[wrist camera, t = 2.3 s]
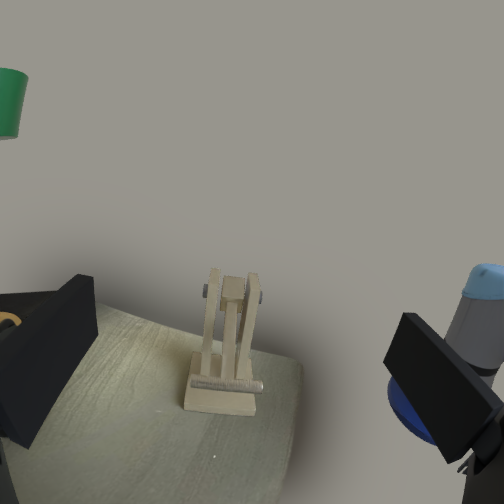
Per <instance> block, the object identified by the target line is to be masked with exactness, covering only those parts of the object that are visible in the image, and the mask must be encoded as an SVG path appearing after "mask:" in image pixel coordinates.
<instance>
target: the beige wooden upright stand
mask: <svg viewBox="0 0 504 504" xmlns="http://www.w3.org/2000/svg"><path fill="white" fill-rule="evenodd" d="M219 278H220V269H216V268H211V273H210V278H209V283H208V284H204V288H203V298H207V301H206V311H205V322H204V333H203V344H202V353H200V352H193V354H192V359H191V364H190V370H189V376H188V381H187V387H186V393H185V399H184V410H190V411H197V412H206V413H215V414H226V415H239V416H254V415H255V411H256V407H255V396H254V394H251V393H237V392H225V391H215V390H206V389H198V388H191V387H190V379H191V374H197V375H205V376H213V377H220V373H221V360H222V355H216V354H211V351H212V341H213V332H214V322H215V314H216V305H217V296H218V287H219ZM261 300H262V291H261V289H260V284H259V279H258V275H257V274H256V273H248V278H247V284H246V291H245V297H244V303H243V310H242V316H241V322H240V329H239V334H238V341H237V347H236V353H235V365H234V379H245V380H253V376H252V366H251V358H248V357H249V352H250V347H251V341H252V336H253V331H254V325H255V320H256V315H257V309H258V304H261Z"/></svg>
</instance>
